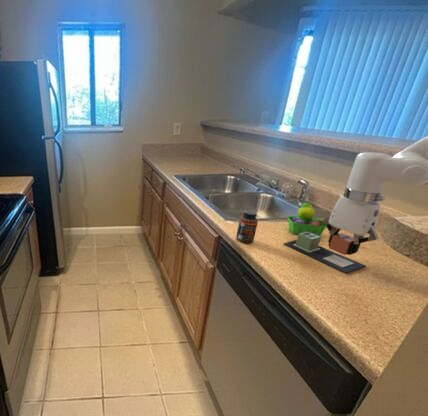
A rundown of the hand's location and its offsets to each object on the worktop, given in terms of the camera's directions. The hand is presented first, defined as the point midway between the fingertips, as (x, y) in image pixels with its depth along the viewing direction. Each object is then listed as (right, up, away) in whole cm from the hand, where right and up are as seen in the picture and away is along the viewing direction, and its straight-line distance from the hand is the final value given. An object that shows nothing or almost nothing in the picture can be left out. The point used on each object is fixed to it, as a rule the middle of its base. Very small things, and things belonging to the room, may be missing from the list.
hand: (341, 249), depth 87 cm
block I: (0, 0, 0) cm, 0 cm away
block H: (-4, -1, +10) cm, 11 cm away
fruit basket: (+4, +3, +22) cm, 23 cm away
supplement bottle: (-22, +1, +16) cm, 28 cm away
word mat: (-2, -3, +6) cm, 7 cm away
